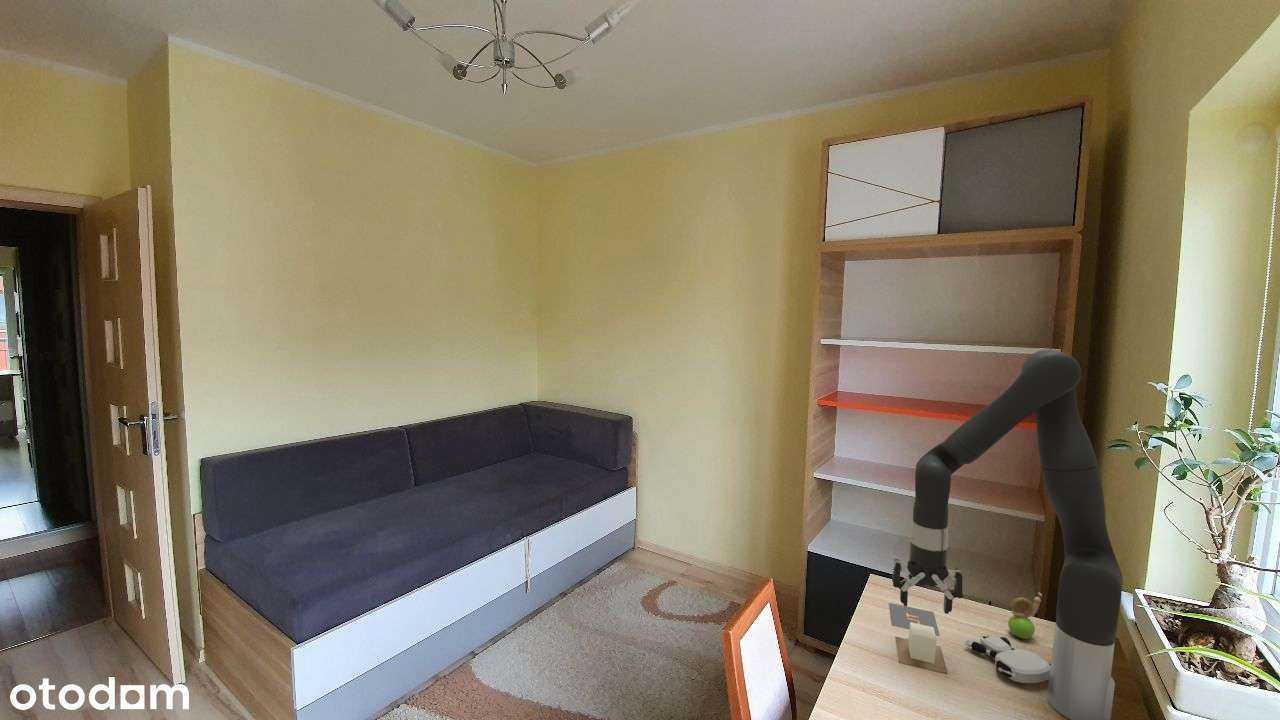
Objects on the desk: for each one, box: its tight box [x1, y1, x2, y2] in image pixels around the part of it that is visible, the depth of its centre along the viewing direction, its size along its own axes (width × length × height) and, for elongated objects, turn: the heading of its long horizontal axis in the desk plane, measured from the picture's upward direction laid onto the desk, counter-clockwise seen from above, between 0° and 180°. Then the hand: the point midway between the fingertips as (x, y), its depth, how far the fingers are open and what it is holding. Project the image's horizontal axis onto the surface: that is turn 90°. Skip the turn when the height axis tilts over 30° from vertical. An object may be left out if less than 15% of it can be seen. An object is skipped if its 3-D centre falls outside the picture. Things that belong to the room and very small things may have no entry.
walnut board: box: [894, 635, 949, 676], centre depth 124 cm, size 10×10×1 cm
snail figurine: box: [1007, 592, 1043, 640], centre depth 131 cm, size 5×6×12 cm
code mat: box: [888, 602, 941, 637], centre depth 138 cm, size 11×11×1 cm
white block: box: [908, 622, 938, 664], centre depth 123 cm, size 5×5×6 cm
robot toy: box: [964, 635, 1051, 684], centre depth 120 cm, size 12×4×15 cm
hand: (925, 608), depth 122 cm, fingers open, 8 cm apart
